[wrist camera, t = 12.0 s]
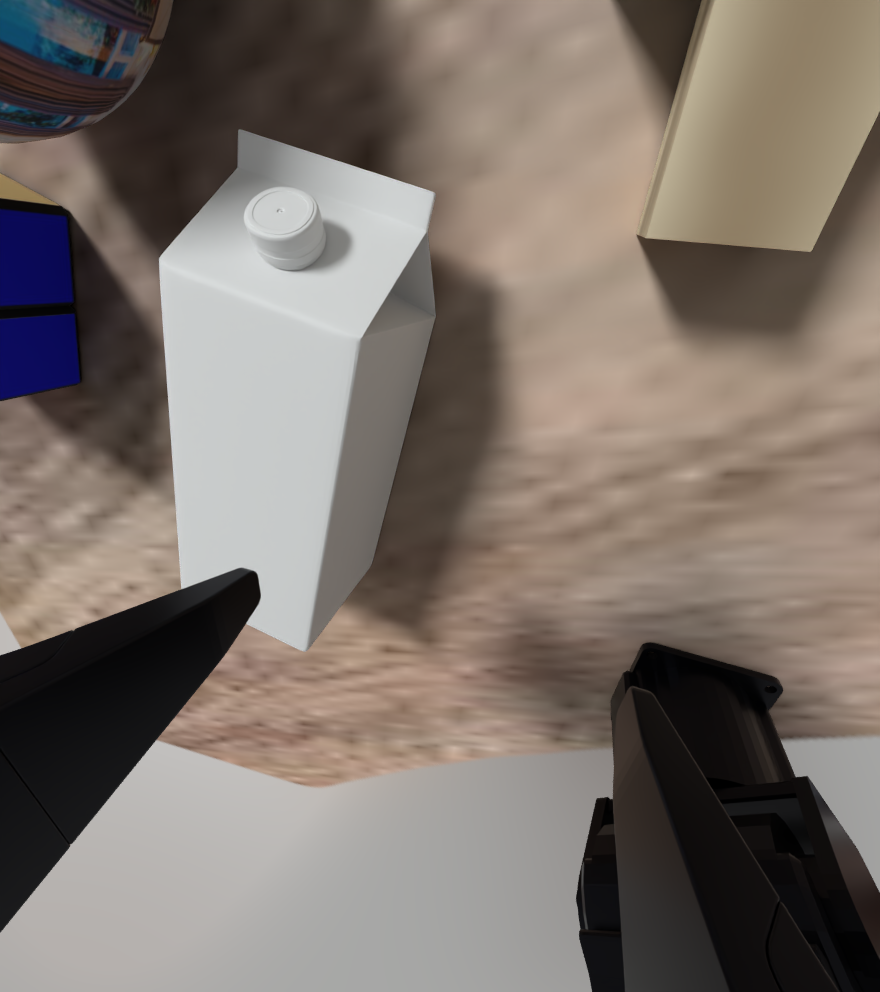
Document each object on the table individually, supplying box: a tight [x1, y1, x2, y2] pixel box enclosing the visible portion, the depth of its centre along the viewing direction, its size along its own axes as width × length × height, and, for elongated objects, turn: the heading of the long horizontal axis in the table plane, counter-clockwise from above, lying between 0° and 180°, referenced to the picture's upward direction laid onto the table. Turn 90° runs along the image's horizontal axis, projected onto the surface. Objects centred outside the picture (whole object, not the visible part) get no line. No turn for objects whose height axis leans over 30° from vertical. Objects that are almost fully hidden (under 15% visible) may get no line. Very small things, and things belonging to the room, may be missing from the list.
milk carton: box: [159, 129, 436, 652], centre depth 18 cm, size 7×7×19 cm
